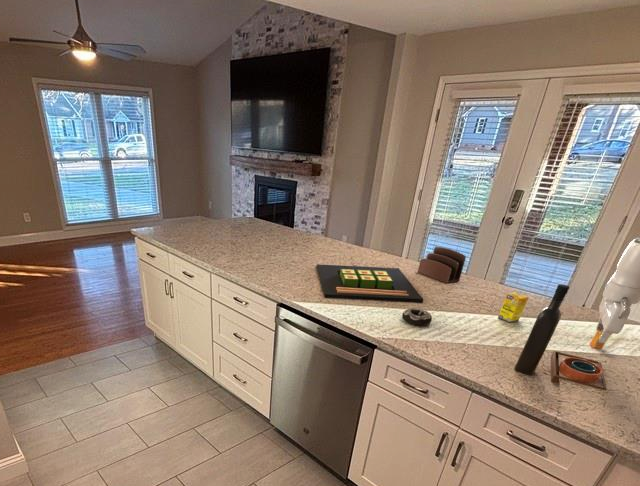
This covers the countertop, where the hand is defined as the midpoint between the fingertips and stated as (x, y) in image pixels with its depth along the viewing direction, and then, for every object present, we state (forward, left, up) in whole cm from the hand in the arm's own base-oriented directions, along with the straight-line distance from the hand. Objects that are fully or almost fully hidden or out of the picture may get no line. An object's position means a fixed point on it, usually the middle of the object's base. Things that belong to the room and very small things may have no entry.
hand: (600, 335), depth 129 cm
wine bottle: (+15, +4, -16) cm, 23 cm away
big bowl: (0, 0, -16) cm, 16 cm away
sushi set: (+89, -47, -16) cm, 102 cm away
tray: (0, -3, -16) cm, 16 cm away
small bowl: (0, 0, -16) cm, 16 cm away
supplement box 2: (-8, -33, -16) cm, 38 cm away
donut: (+56, -15, -16) cm, 60 cm away
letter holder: (+60, -82, -16) cm, 103 cm away
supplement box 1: (+23, -41, -16) cm, 50 cm away
